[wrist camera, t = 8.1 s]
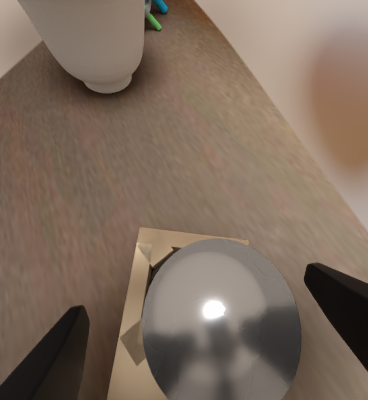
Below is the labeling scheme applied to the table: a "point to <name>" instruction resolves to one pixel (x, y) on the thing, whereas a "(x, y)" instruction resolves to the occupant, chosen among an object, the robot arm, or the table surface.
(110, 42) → the teacup
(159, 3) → the gear
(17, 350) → the table surface
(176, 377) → the translucent cylinder
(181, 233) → the jig
